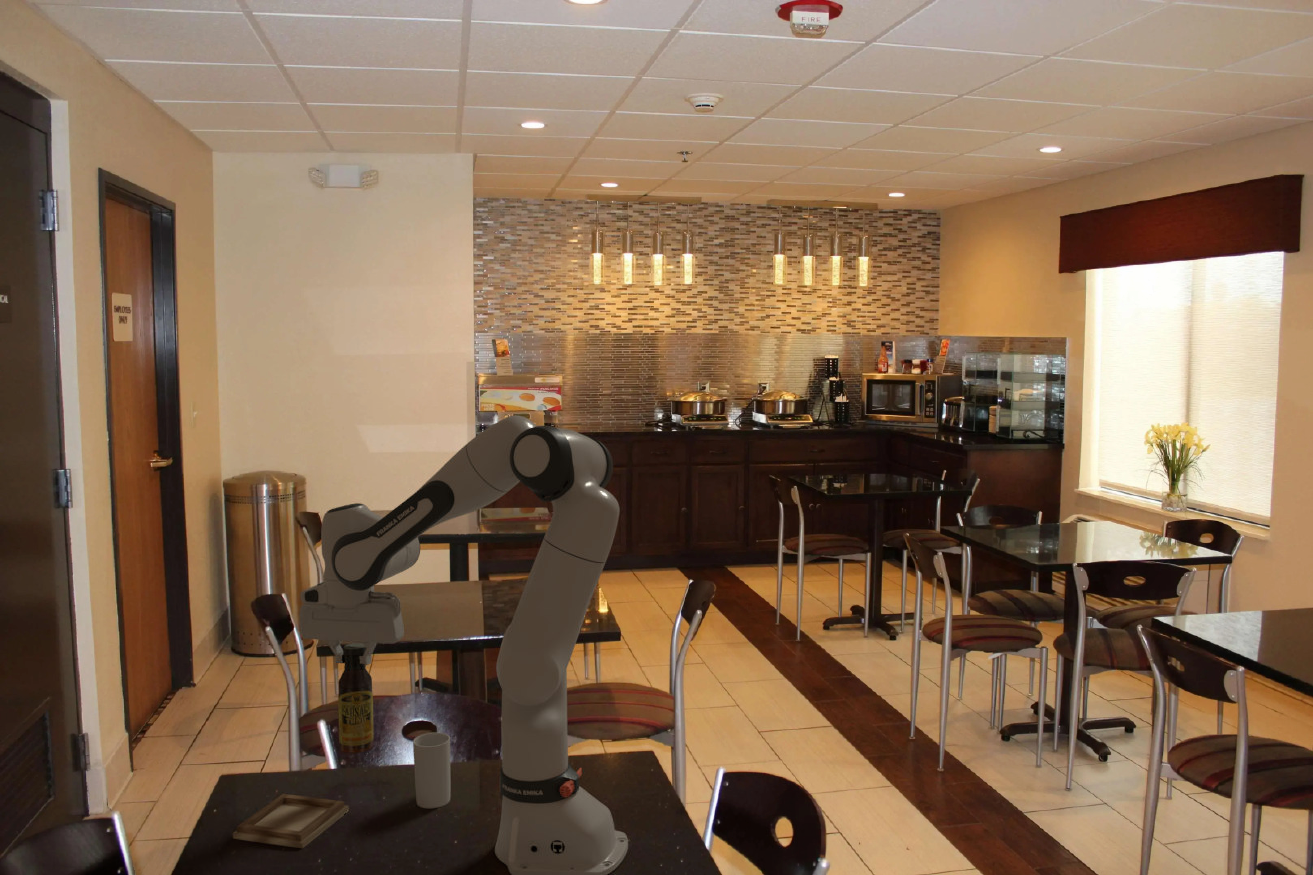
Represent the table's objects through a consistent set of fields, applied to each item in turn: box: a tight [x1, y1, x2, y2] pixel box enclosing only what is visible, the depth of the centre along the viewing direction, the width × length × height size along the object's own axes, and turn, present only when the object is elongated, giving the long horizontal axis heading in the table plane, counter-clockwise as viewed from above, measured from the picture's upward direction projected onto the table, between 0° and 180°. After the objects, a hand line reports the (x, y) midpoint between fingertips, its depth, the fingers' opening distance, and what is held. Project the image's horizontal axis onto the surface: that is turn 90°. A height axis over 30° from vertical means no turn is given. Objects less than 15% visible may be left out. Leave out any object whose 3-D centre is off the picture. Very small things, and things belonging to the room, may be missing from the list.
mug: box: [412, 732, 452, 809], centre depth 188 cm, size 10×7×12 cm, turn 178°
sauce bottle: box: [337, 642, 375, 754], centre depth 186 cm, size 6×6×20 cm
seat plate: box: [232, 793, 350, 849], centre depth 178 cm, size 14×14×2 cm
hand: (353, 663), depth 185 cm, fingers closed on sauce bottle, 4 cm apart
